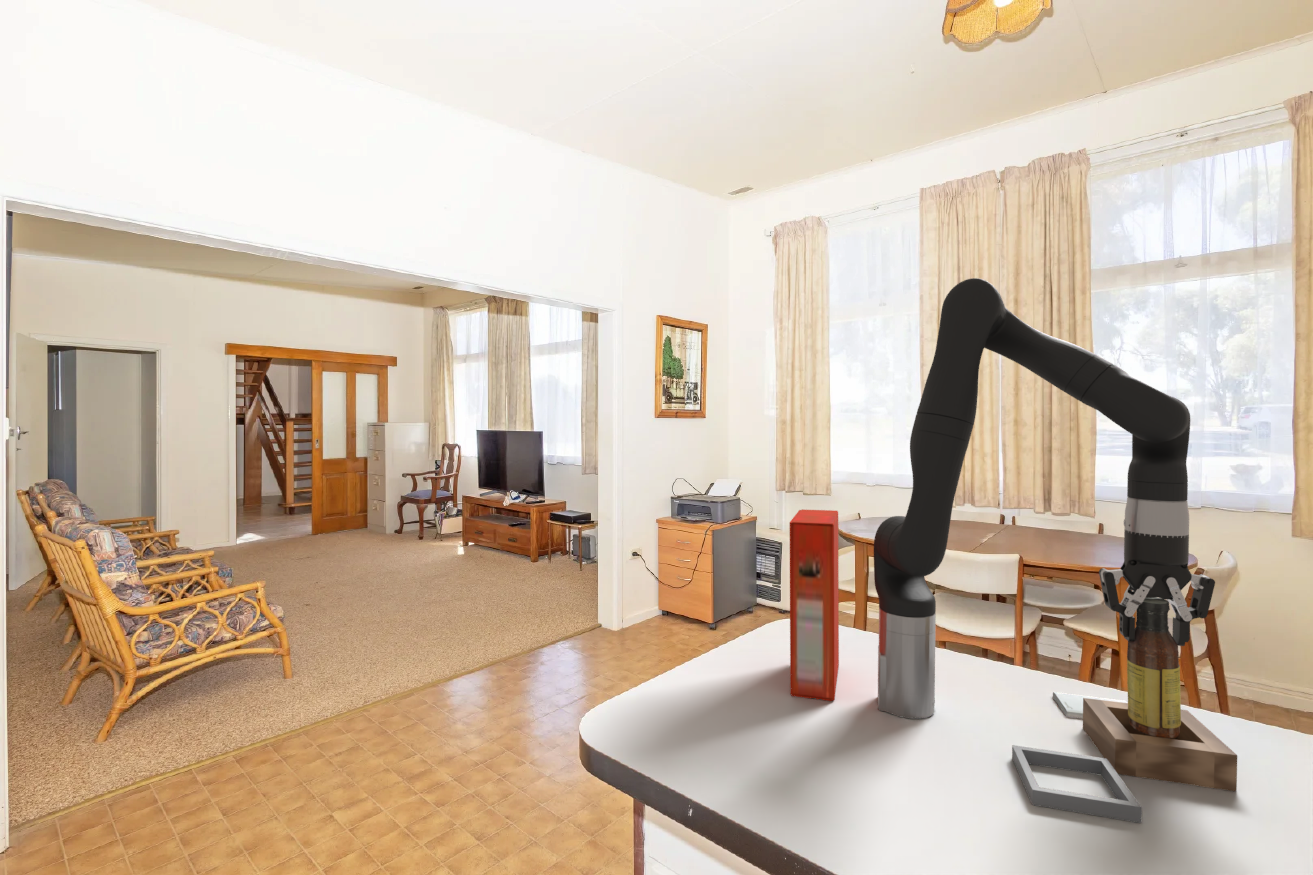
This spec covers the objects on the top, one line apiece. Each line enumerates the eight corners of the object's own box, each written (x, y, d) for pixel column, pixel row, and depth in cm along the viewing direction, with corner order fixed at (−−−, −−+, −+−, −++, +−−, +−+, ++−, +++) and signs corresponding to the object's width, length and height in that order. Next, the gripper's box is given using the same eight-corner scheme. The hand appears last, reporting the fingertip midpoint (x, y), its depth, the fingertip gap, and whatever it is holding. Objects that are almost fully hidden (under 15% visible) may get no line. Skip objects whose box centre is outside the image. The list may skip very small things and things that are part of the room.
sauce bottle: (1172, 725, 96) (1176, 596, 95) (1187, 745, 90) (1191, 607, 90) (1120, 717, 99) (1123, 591, 98) (1131, 735, 93) (1134, 601, 92)
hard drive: (1066, 710, 107) (1153, 720, 103) (1052, 690, 115) (1133, 699, 111) (1066, 720, 107) (1153, 730, 103) (1052, 699, 115) (1133, 708, 111)
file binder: (788, 695, 115) (789, 521, 115) (798, 661, 132) (799, 508, 131) (834, 701, 113) (835, 523, 112) (838, 666, 129) (839, 510, 128)
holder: (1114, 773, 90) (1115, 738, 90) (1082, 728, 103) (1083, 697, 103) (1236, 791, 85) (1237, 755, 85) (1186, 741, 99) (1187, 710, 99)
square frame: (1032, 804, 83) (1032, 789, 82) (1012, 758, 94) (1012, 744, 94) (1141, 822, 79) (1141, 807, 79) (1106, 772, 90) (1106, 758, 90)
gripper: (1108, 530, 92) (1106, 645, 93) (1229, 536, 88) (1226, 656, 88) (1090, 522, 99) (1089, 629, 100) (1202, 527, 95) (1199, 638, 95)
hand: (1153, 641), depth 94 cm, fingers closed on sauce bottle, 5 cm apart
